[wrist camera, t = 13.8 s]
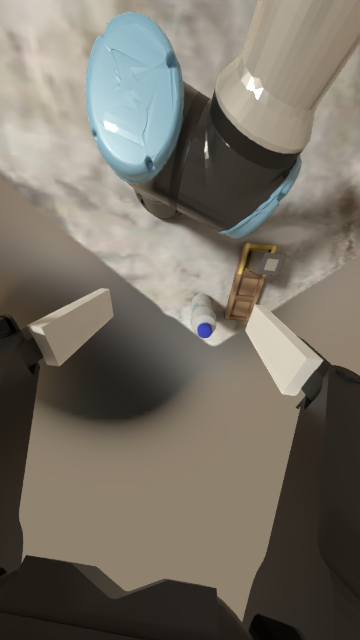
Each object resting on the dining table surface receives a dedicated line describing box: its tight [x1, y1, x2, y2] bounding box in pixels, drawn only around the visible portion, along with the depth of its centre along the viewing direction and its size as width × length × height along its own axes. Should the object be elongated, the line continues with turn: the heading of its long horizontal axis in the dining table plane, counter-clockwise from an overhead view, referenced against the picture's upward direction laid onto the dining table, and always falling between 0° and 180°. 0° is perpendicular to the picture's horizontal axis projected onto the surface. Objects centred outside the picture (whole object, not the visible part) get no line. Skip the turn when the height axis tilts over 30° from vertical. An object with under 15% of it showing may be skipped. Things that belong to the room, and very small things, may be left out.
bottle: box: [190, 294, 216, 338], centre depth 40 cm, size 7×7×20 cm
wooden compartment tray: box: [224, 243, 277, 321], centre depth 44 cm, size 23×8×3 cm, turn 175°
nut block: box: [244, 250, 286, 276], centre depth 36 cm, size 4×4×10 cm
